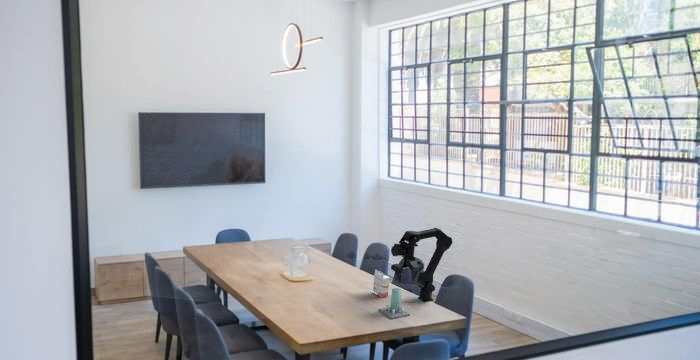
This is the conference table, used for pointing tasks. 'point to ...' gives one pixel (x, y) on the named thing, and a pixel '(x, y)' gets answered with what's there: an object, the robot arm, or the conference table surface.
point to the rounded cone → (395, 300)
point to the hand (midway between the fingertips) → (406, 281)
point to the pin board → (394, 315)
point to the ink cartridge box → (381, 284)
